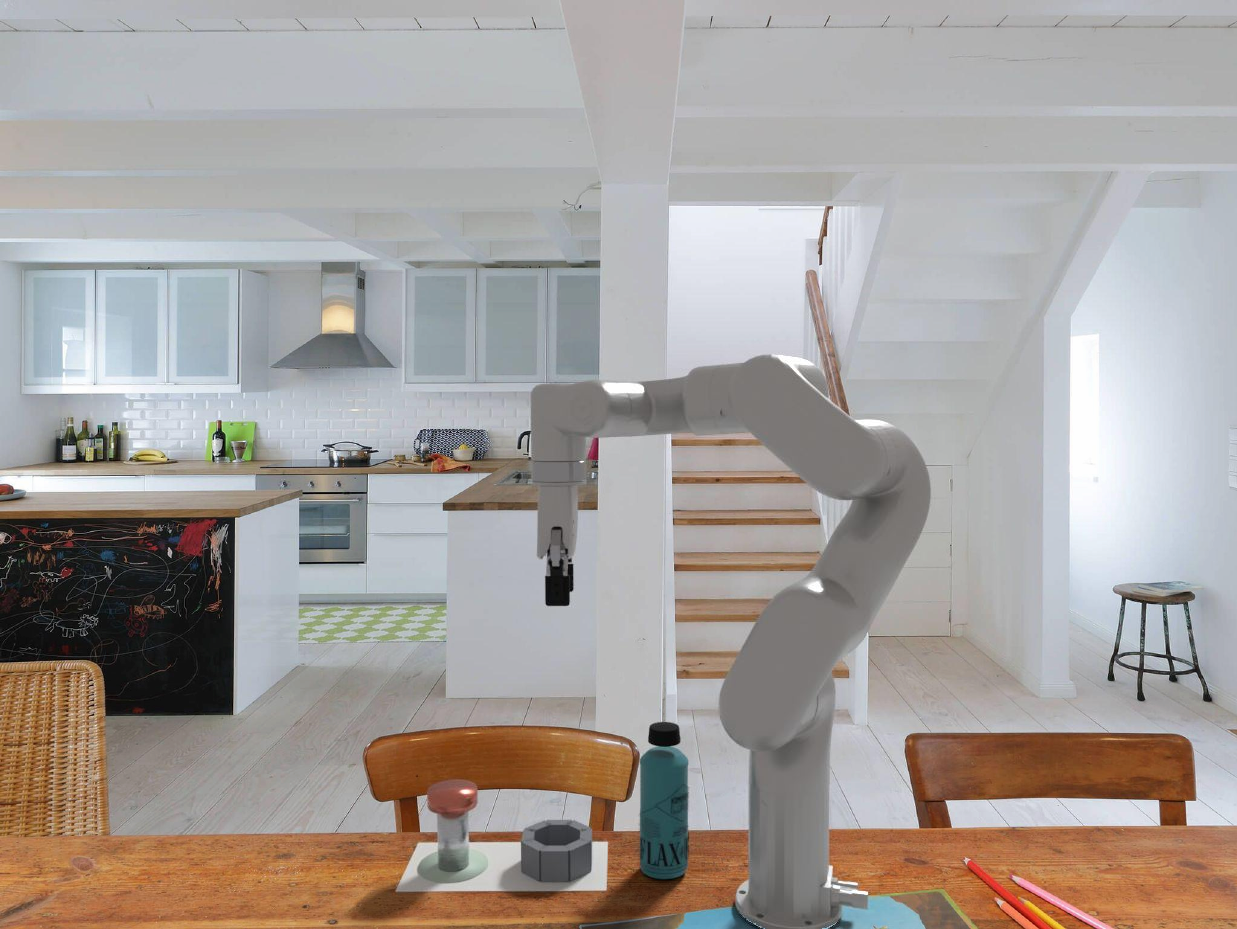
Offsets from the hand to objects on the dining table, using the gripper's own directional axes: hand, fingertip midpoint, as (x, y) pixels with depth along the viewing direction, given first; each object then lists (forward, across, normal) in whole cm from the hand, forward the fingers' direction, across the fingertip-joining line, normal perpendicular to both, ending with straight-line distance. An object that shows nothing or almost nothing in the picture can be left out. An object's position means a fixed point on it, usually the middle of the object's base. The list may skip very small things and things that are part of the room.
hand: (560, 598), depth 126 cm
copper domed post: (+33, +9, -14) cm, 37 cm away
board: (+34, +8, -7) cm, 36 cm away
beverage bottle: (+34, +10, +14) cm, 38 cm away
